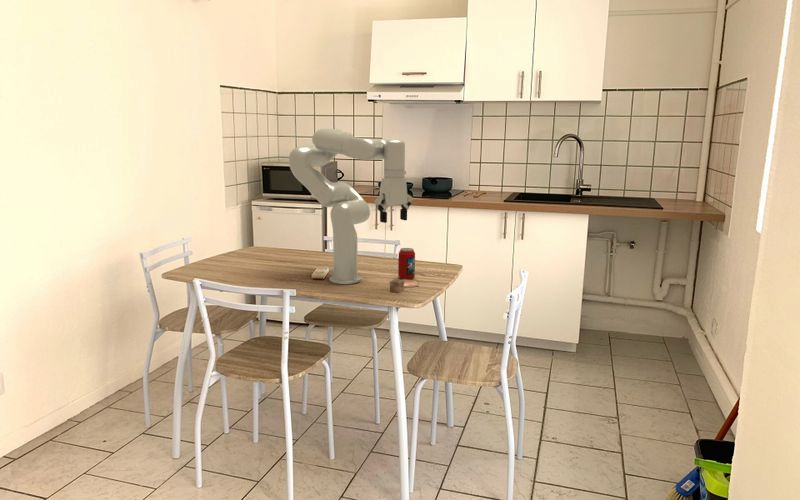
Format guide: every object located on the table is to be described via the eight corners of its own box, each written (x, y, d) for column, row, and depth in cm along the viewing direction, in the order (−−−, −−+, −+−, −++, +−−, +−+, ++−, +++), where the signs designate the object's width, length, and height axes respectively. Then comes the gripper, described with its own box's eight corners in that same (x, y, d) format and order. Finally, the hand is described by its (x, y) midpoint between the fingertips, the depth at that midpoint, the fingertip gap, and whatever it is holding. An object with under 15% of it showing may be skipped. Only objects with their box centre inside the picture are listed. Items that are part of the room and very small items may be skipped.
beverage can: (413, 280, 238) (413, 251, 236) (396, 279, 240) (397, 250, 237) (416, 276, 245) (416, 248, 242) (399, 275, 246) (400, 247, 244)
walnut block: (389, 291, 222) (389, 281, 221) (394, 289, 226) (394, 279, 225) (399, 293, 220) (399, 282, 219) (404, 290, 224) (404, 280, 223)
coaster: (387, 283, 233) (387, 282, 233) (406, 279, 239) (406, 278, 239) (404, 289, 226) (404, 287, 225) (423, 284, 232) (423, 283, 232)
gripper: (405, 172, 223) (404, 217, 227) (369, 174, 212) (368, 222, 216) (418, 174, 218) (417, 220, 221) (382, 176, 207) (381, 224, 210)
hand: (393, 221), depth 219 cm, fingers open, 9 cm apart
